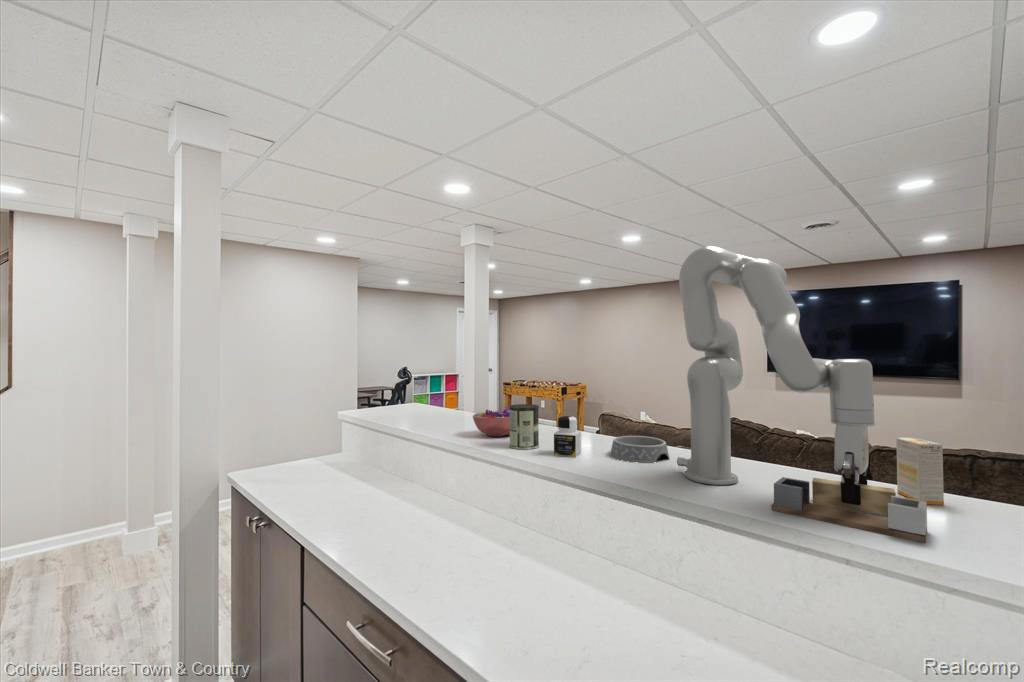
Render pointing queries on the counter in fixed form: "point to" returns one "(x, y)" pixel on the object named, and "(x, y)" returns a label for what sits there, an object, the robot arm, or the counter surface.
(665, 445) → the dog bowl
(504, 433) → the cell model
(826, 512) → the base board
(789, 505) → the grey end holder
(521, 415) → the coffee can
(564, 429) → the medicine bottle
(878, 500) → the slat
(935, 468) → the supplement box
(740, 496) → the counter surface
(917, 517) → the bracket
